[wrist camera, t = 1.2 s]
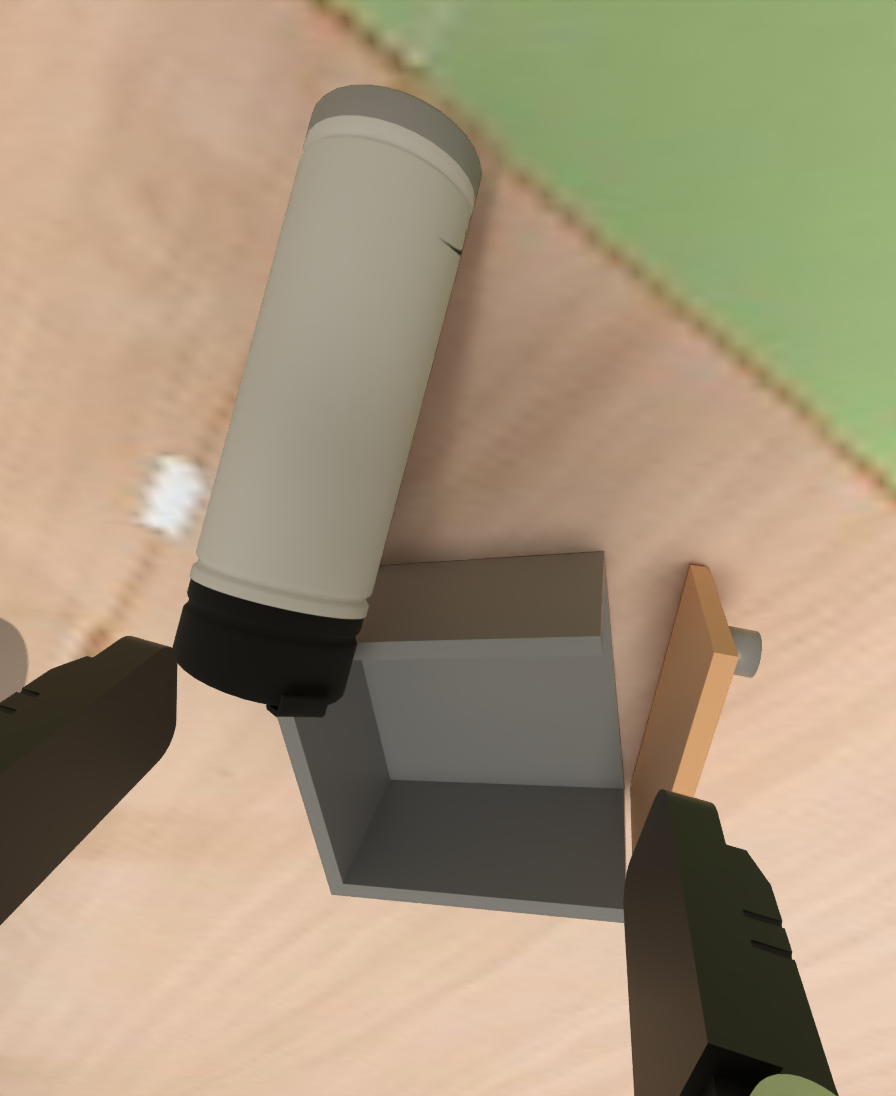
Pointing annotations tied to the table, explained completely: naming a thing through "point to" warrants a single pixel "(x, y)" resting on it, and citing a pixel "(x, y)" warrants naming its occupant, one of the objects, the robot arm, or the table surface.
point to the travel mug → (329, 400)
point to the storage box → (475, 743)
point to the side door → (690, 695)
